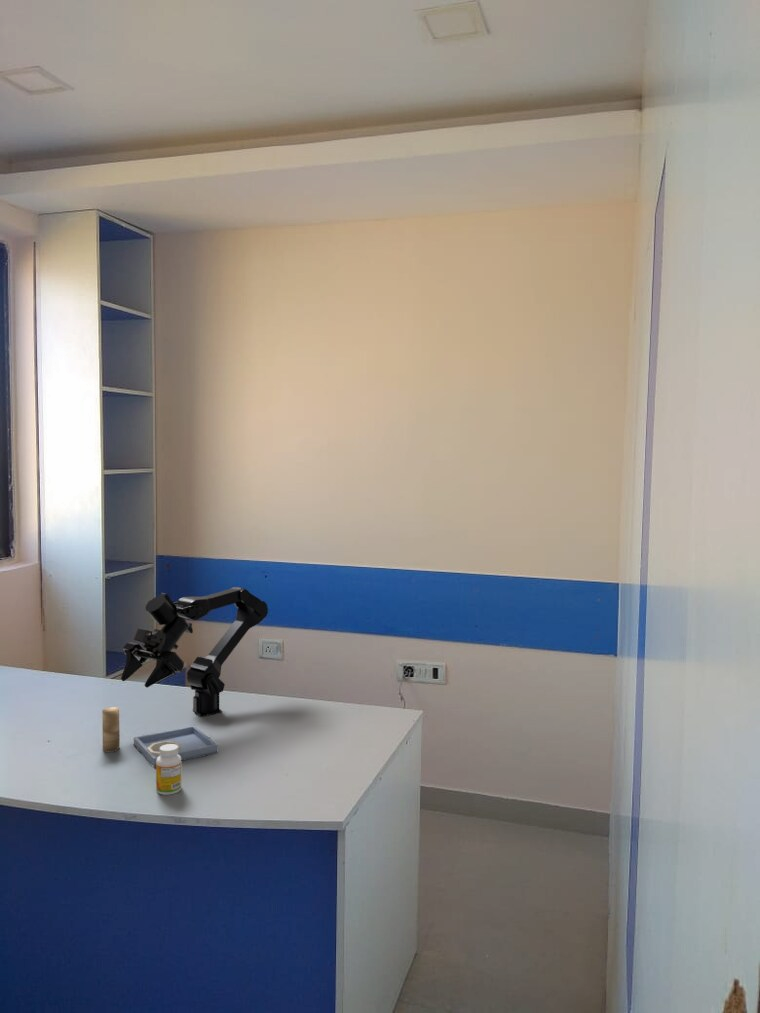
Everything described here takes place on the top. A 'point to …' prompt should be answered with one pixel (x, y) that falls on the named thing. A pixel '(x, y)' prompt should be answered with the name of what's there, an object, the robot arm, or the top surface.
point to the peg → (110, 729)
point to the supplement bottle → (168, 770)
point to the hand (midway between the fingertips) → (133, 683)
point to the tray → (176, 743)
